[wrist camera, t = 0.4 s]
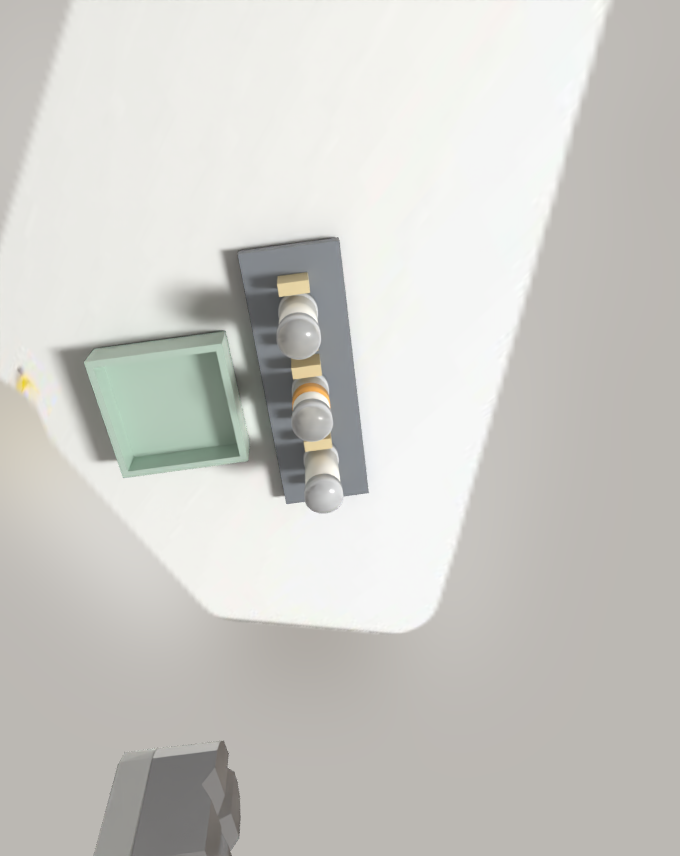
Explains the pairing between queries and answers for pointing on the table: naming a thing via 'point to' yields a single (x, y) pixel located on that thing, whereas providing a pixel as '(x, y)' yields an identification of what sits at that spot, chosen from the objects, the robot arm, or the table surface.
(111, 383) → the parts tray
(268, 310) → the fuse holder
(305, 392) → the marked fuse
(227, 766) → the robot arm
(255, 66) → the table surface
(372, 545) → the table surface
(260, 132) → the table surface
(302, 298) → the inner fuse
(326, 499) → the outer fuse
